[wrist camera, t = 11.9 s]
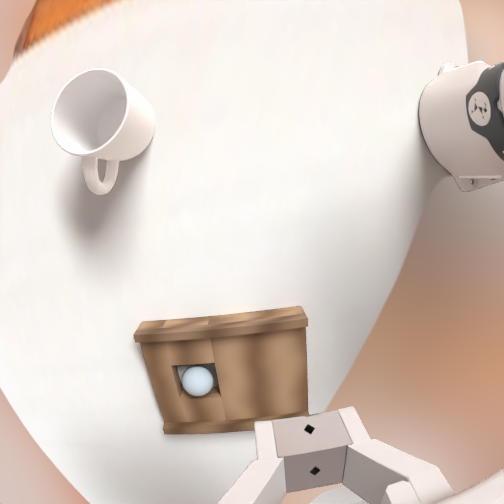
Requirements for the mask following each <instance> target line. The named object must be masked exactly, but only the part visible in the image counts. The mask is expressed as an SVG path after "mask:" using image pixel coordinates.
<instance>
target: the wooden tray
mask: <svg viewBox="0 0 504 504" xmlns="http://www.w3.org/2000/svg"><path fill="white" fill-rule="evenodd" d="M307 326H308V318H307V316H306V314H305V313H304V311H303V309H302V307H301V306H296V307H289V308H281V309H273V310H264V311H256V312H247V313H238V314H228V315H218V316H208V317H197V318H185V319H173V320H159V321H145V322H141V324H140V326H139V327H138V329H137V330H136V332H135V333H134V335H133V336H134V339H135V343H139V342H140V344H141V348H142V351H143V355H144V359H145V362H146V366H147V369H148V372H149V376H150V379H151V382H152V386H153V389H154V392H155V395H156V398H157V401H158V404H159V408H160V410H161V413H162V416H163V419H164V422H165V423H164V427H163V431H164V434H207V433H225V432H238V431H250V430H255V427H254V424H255V422H258V421H270V420H271V421H272V420H276V419H285V418H293V417H301V416H307V415H309V412H308V383H307V350H306V327H307ZM205 363H215V368H216V373H217V378H218V383H219V387H215V388H211V390H210V391H209V392H208V393H207V394H205V395H203V396H193V395H191V394H189V393H188V392H187V391H186V390H185V389H182V385H181V381H180V377H179V373H178V369H177V365H190V364H205Z"/></svg>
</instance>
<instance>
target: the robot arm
mask: <svg viewBox="0 0 504 504" xmlns="http://www.w3.org/2000/svg"><path fill="white" fill-rule="evenodd" d="M419 117H420V125H421V129H422V133H423V136H424V139H425V141H426V143H427V146H428V148H429V149H430V151H431V153H432V154H433V156H434V157H435V159H436V160H437V161H438V162H439V163H440V164H441V165H442V166H443V167H444V168H445V169H446V170H448V171H449V172H450V173H451V174H452V176H453V178H454V180H455V181H456V183H457V185H458V187H459V188H460V190H461V191H463V192H468V191H469V192H470V191H473V190H476V189H479V188H482V187H485V186H488V185H491V184H494V183H497V182H500V181H503V180H504V62H501V63H497V64H495V65H493V66H490V65H488V64H485V63H484V62H483V61H477V62H473V63H470V64H466V65H463V66H458V65H456V64H454V63H452V62H447V63H444V64H443V65H442V67H441V69H440V72H439V75H438V76H437V77H436V78H435V79H433V80H432V81H431V82H430V83H429V84H428V85H427V86H426V87H425V89H424V91H423V93H422V96H421V100H420V106H419ZM471 180H472V183H471ZM254 427H255V439H256V451H257V460H256V461H252V462H251V463H250V464H249V466H248V467H247V468H246V469H245V471H244V472H243V473H242V474H241V476H240V477H239V478H238V479H237V481H236V482H235V483H234V484H233V485H232V487H231V488H230V489H229V490H228V491H227V493H226V494H225V495H224V496H223V497H222V498H221V500H220V501H219V502H218V503H217V504H281V503H282V501H283V499H284V498H285V495H286V493H289V492H294V491H300V490H306V489H311V488H316V487H322V486H328V485H333V484H338V483H343V485H345V486H346V487H347V488H349V489H350V490H351V491H353V492H354V493H355V494H357V495H358V496H359V497H361V498H362V499H363V500H365V501H366V502H368V503H369V504H504V467H503V468H502V469H500V470H499V471H497V472H496V473H494V474H492V475H490V476H489V477H487V478H485V479H484V480H482V481H480V482H478V483H477V484H475V485H473V486H471V487H469V488H467V489H465V490H463V491H461V492H460V493H457V494H455V493H454V491H453V490H452V488H451V487H450V485H449V484H448V482H447V481H446V479H445V478H444V476H443V474H442V473H441V471H440V470H439V468H438V467H437V466H435V465H433V464H430V463H428V462H426V461H423V460H421V459H419V458H417V457H414V456H412V455H410V454H407V453H405V452H403V451H401V450H399V449H397V448H394V447H392V446H390V445H388V444H386V443H384V442H382V441H380V440H377V439H372V440H371V439H370V437H369V435H368V433H367V431H366V429H365V427H364V425H363V423H362V421H361V419H360V417H359V415H358V413H357V411H356V410H355V408H354V407H353V406H350V407H346V408H342V409H337V410H333V411H329V412H323V413H318V414H312V415H307V416H301V417H293V418H285V419H276V420H272V421H271V420H270V421H258V422H255V424H254Z"/></svg>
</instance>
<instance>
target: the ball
mask: <svg viewBox="0 0 504 504" xmlns="http://www.w3.org/2000/svg"><path fill="white" fill-rule="evenodd" d="M182 384H183V387H184V389H185V390H186V391H187V392H188V393H189V394H191V395H193V396H203V395H205V394H207V393H208V392H209V391H210V390H211V388H212V386H213V377H212V375H211V373H210V372H209V371H208V370H207V369H206V368H204V367H201V366H193V367H190V368H189V369H187V370H186V371H185V372H184V374H183V377H182Z"/></svg>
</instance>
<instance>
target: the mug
mask: <svg viewBox="0 0 504 504" xmlns="http://www.w3.org/2000/svg"><path fill="white" fill-rule="evenodd" d="M155 124H156V122H155V115H154V112H153V109H152V107H151V105H150V104H149V103H148V101H147V100H146V99H145V98H144V97H142V96H141V95H140V94H139V93H138V92H137V91H136V90H135V89H134V88H133V87H131V86H130V85H129V84H128V83H127V82H126V81H125V80H124V79H123V78H121V77H120V76H119V75H118V74H116V73H115V72H113V71H111V70H108V69H102V68H95V69H90V70H86V71H84V72H81V73H79V74H78V75H76V76H75V77H73V78H72V79H71V80H69V81H68V82H67V83H66V84H65V86H64V87H63V88H62V89H61V91H60V92H59V94H58V96H57V97H56V100H55V102H54V105H53V107H52V112H51V130H52V134H53V136H54V139H55V140H56V142H57V144H58V145H59V146H60V147H61V148H62V149H63V150H65V151H66V152H68V153H70V154H73V155H78V156H82V166H83V174H84V179H85V181H86V184H87V186H88V188H89V189H90V190H91V191H92V192H93V193H94V194H97V195H104V194H106V193H108V192H109V191H110V190H111V189H112V187H113V186H114V183H115V181H116V178H117V174H118V168H119V161H124V160H128V159H131V158H133V157H135V156H137V155H139V154H140V153H141V152H142V151H143V150H144V149H145V148H146V147H147V146H148V145H149V143H150V141H151V139H152V137H153V135H154V131H155ZM98 159H104V160H107V165H106V174H105V177H104V180H103V182H101V181H100V179H99V176H98Z"/></svg>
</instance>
